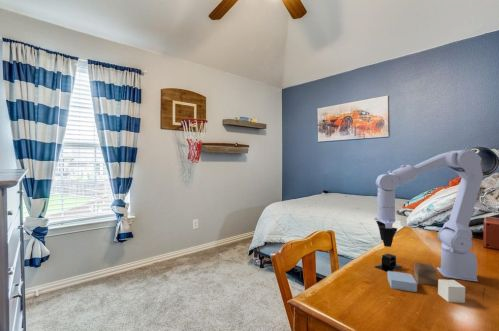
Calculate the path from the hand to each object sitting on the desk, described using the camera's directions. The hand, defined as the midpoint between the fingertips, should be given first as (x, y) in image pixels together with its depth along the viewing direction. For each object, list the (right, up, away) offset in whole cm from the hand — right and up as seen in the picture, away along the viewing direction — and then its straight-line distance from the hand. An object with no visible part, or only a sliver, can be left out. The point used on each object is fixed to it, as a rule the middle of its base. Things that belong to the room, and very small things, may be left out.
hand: (385, 243), depth 95 cm
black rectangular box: (+2, -10, +2) cm, 11 cm away
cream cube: (+8, -10, -20) cm, 24 cm away
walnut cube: (+8, -10, -9) cm, 16 cm away
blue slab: (-1, -10, -12) cm, 16 cm away
